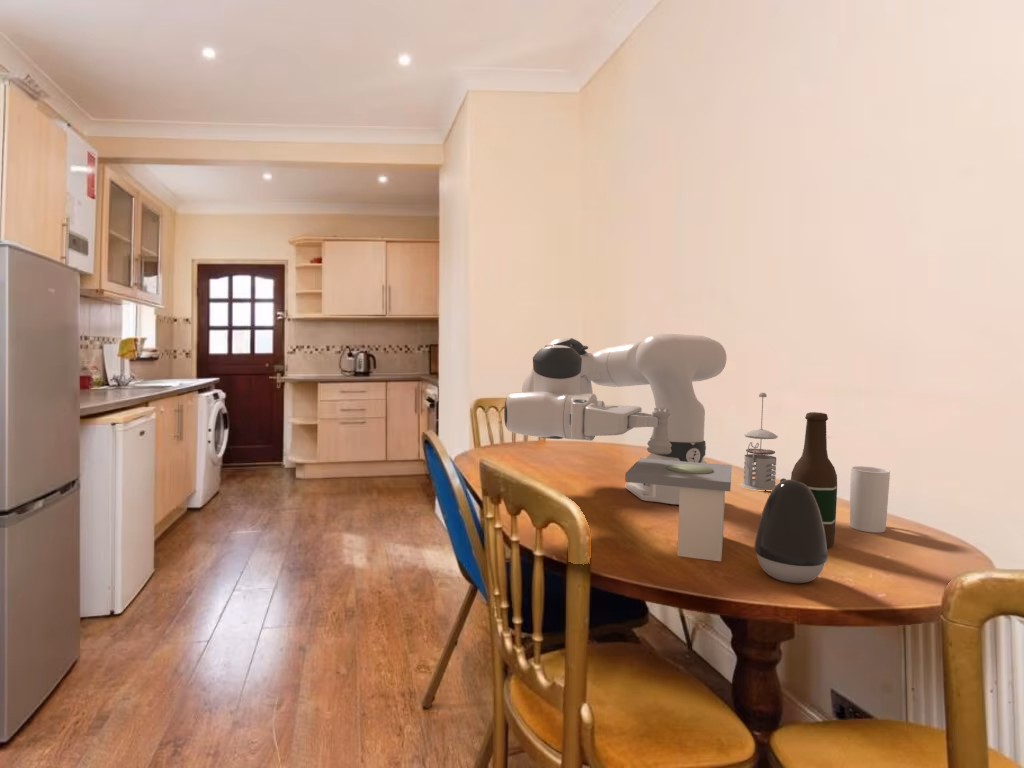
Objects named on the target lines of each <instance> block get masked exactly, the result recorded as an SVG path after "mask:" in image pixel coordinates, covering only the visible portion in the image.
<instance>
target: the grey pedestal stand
mask: <svg viewBox="0 0 1024 768" xmlns="http://www.w3.org/2000/svg"><path fill="white" fill-rule="evenodd" d="M645 458H646V457H645ZM645 458H641V457H640V458H639V459H638V460H637V461H636V462H635V463H634V464H633V465H632V466H631V467H630V468H629V469H628V470H627V471H626V472H625V475H624V476H625V477H624V478H625V480H624V482H625V483H631V482H632V483H643V484H654V485H665V486H676V487H680V496H679V504H678V526H677V527H678V529H677V530H678V531H677V532H678V533H677V555H676V556H677V557H683V558H691V559H699V560H707V561H714V562H722V558H723V557H722V555H723V544H724V529H725V527H724V525H725V523H724V522H725V501H726V499H725V498H726V492H731V486H732V469H733V468H732V467H733V466H732V464H721V463H710V462H709V463H707V462H706V463H697V462H684V461H671V460H658V459H645Z"/></svg>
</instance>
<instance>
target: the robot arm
mask: <svg viewBox="0 0 1024 768" xmlns="http://www.w3.org/2000/svg"><path fill="white" fill-rule="evenodd" d="M588 349H589V346H588V345H584V344H582V342H580V341H579V340H577V339H574V338H572V337H570V338H569V337H558V338H555V339H553V340H551V341H550V342H549V343H547V344H546V345H545V346H543V348H542V347H541V348H540V349H539V350H538V351H537V352H536V353H535V354H534V355H533V357H532V370H531V372H530V374H528V375H527V377H526V378H525V379H524V381H523V383H522V388H521V392H515V393H514V392H512V393H510V394H509V393H508V394H507V397H506V398H505V402H504V407H503V408H504V410H503V413H504V415H503V416H504V417H503V418H504V424H505V428H506V429H507V431H508V432H511V433H514V434H518V435H524V436H529V437H534V438H535V437H537V438H538V437H539V438H542V439H553V440H562V439H565V440H566V439H567V440H575V441H577V440H578V441H593V440H594V439H595V438H596V437H597V436H599V437H600V436H601V437H602V436H604V437H605V436H620V435H624V434H625V433H628V432H629V431H631V430H632V429H634V428H654V427H657V426H658V420H659V419H658V417H654V416H653V414H652V413H648V412H643V410H642V407H641V406H637V405H623V404H622V405H619V404H617V405H615V404H611V405H610V404H609V405H608V404H607V405H606V403H605V402H604V401H603V400H598V398H597V395H596V394H595V393H593V387H592V386H593V385H592V383H594V384H596V385H598V386H603V387H610V388H612V387H613V388H615V387H616V388H618V387H619V388H620V387H622V388H624V387H634V386H645V385H647V386H648V385H649V386H650V389H651V392H652V394H653V400H654V405H655V408H658V409H659V408H662V409H664V408H667V409H669V413H670V414H671V415H670V416H669V417H668V422H669V423H668V425H667V431H668V438H669V442H670V443H671V445H672V446H671V448H670V450H671V451H672V452H671V453H670V454H654V453H650V454H649V455H647V456H646V457H645V459H658V460H671V461H684V462H697V463H707V462H706V461H705V458H704V457H705V456H706V450H707V446H706V445H707V444H706V440H705V418H706V417H705V415H706V410H705V407H704V405H703V403H701V402H700V401H699V399H698V397H697V396H696V394H695V391H694V387H693V382H702V381H706V380H710V379H712V378H715V377H718V376H719V375H721V373H723V371H724V369H725V367H726V363H727V353H726V349H725V348H724V346H723V345H722V343H720V342H719V341H718V340H715V339H712V338H710V337H708V336H704V335H697V334H696V335H694V334H675V333H660V334H655V335H652V336H648V337H646V338H645V339H643V340H641V341H633V342H628V343H627V342H626V343H621V344H615V345H611V346H607V347H604V348H602V349H599V350H596V351H593V352H587V350H588ZM624 487H625V489H627V490H628V491H630V492H631V493H632V494H633V495H635V496H636V497H637V498H638V499H640V500H641V501H645V502H656V503H662V504H668V505H669V504H670V505H679V496H680V487H676V486H665V485H654V484H643V483H632V482H626V483H625V486H624Z"/></svg>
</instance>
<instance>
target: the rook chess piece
mask: <svg viewBox="0 0 1024 768" xmlns="http://www.w3.org/2000/svg"><path fill="white" fill-rule="evenodd" d="M651 414H653V416H654V417H658V419H659V420H658V426H657V427H652V433H651V436H650V438H649V440H648V441H647V446H648V447H647V448H646V451H647V452H648V453H650V454H651V453H654V454H670V453H671V452H672V451H671V450H670V448H671V446H672V445H671V443H670V442H669V438H668V431H667V425H668V423H669V422H668V417H669V416H670V415H671V414H670V413H669V409H667V408H664V409H662V408H659V409H658V408H656V407H654V408H653V411H652V412H651Z"/></svg>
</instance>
